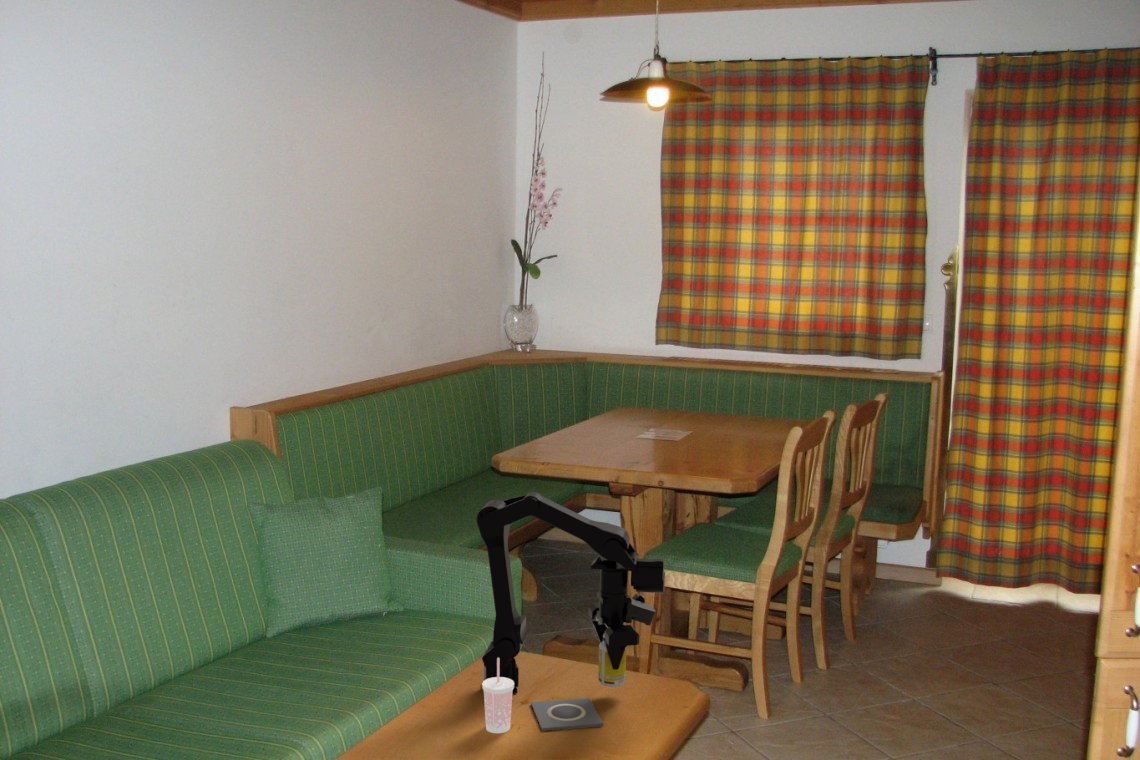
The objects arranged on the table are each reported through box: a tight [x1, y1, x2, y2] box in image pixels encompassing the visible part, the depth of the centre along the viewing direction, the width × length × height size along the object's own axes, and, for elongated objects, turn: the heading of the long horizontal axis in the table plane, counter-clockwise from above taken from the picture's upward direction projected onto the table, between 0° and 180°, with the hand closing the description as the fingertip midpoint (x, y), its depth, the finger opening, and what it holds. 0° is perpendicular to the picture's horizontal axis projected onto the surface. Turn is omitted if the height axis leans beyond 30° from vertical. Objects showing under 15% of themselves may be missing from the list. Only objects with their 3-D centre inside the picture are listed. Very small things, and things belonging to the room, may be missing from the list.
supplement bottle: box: [598, 633, 627, 688], centre depth 225 cm, size 6×6×10 cm
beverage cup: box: [481, 658, 514, 734], centre depth 210 cm, size 6×6×14 cm
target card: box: [530, 697, 604, 732], centre depth 217 cm, size 12×12×1 cm
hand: (612, 663), depth 225 cm, fingers closed on supplement bottle, 5 cm apart
